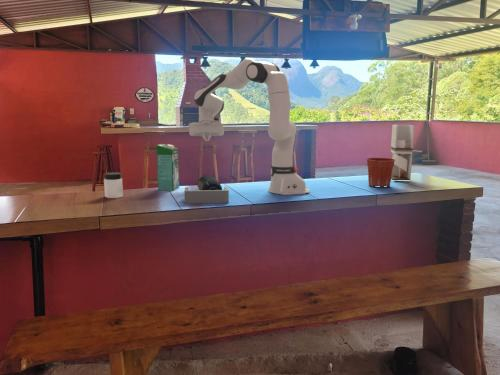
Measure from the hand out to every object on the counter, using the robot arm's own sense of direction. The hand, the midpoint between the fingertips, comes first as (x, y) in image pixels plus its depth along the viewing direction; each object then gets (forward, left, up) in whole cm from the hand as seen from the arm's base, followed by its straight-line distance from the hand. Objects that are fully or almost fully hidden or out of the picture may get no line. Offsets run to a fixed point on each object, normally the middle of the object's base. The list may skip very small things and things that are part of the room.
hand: (206, 140), depth 246 cm
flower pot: (-101, +9, -27) cm, 105 cm away
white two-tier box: (-122, -9, -27) cm, 126 cm away
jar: (+48, +29, -27) cm, 62 cm away
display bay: (+1, +42, -26) cm, 49 cm away
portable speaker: (-1, +32, -27) cm, 42 cm away
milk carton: (+22, +10, -27) cm, 36 cm away
